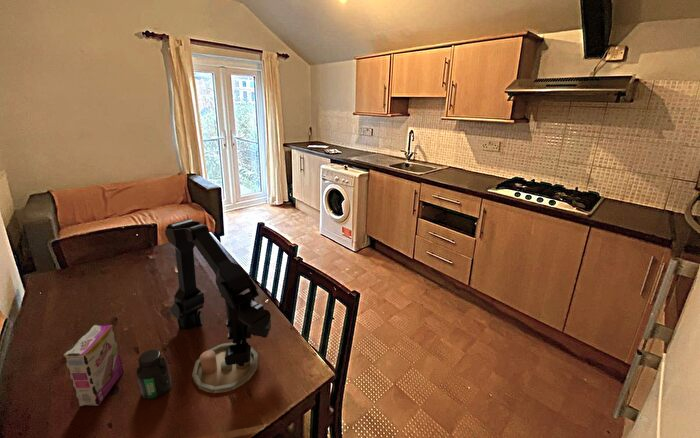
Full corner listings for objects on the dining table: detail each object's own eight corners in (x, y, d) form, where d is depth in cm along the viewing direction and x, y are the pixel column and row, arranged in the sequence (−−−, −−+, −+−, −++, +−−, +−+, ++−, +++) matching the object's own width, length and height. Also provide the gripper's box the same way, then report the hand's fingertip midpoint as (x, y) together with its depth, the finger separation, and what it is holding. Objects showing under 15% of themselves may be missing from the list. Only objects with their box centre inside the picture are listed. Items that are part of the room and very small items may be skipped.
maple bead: (250, 368, 93) (248, 355, 91) (235, 370, 92) (233, 357, 90) (250, 357, 96) (249, 344, 94) (236, 359, 95) (234, 346, 94)
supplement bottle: (157, 405, 82) (148, 369, 78) (136, 398, 84) (126, 362, 79) (178, 384, 88) (171, 349, 84) (158, 378, 90) (150, 343, 86)
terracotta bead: (200, 376, 90) (198, 362, 88) (203, 365, 93) (201, 351, 92) (216, 373, 91) (214, 359, 89) (218, 363, 94) (216, 349, 92)
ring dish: (187, 400, 83) (186, 394, 83) (200, 352, 99) (199, 346, 98) (257, 389, 88) (256, 383, 87) (258, 344, 103) (258, 338, 103)
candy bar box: (100, 406, 81) (84, 355, 75) (79, 407, 81) (61, 355, 75) (125, 371, 92) (113, 323, 86) (106, 371, 91) (92, 324, 85)
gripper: (268, 333, 81) (271, 380, 87) (268, 292, 98) (270, 333, 104) (221, 339, 79) (227, 387, 84) (229, 296, 96) (234, 338, 101)
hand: (242, 359), depth 93 cm, fingers open, 5 cm apart
